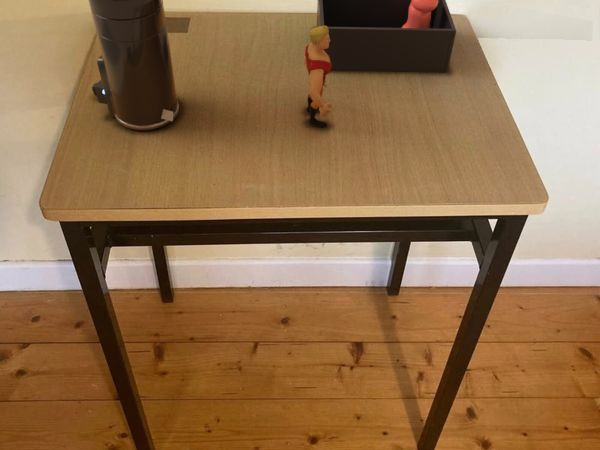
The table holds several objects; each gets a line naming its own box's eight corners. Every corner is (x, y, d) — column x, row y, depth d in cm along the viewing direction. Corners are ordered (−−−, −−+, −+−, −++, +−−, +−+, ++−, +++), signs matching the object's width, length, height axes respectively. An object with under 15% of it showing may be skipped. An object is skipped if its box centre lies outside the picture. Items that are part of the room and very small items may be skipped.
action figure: (332, 136, 90) (339, 43, 79) (307, 137, 90) (311, 44, 79) (324, 98, 96) (329, 7, 85) (301, 99, 96) (304, 8, 85)
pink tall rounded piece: (427, 57, 104) (445, -31, 93) (397, 53, 105) (411, -35, 94) (429, 42, 108) (446, -45, 97) (400, 38, 108) (413, -49, 97)
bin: (318, 70, 102) (320, 28, 96) (316, 29, 111) (318, -12, 105) (447, 72, 102) (456, 30, 97) (434, 31, 111) (442, -9, 106)
